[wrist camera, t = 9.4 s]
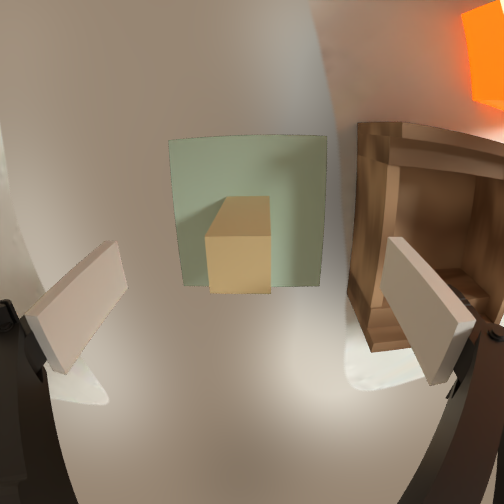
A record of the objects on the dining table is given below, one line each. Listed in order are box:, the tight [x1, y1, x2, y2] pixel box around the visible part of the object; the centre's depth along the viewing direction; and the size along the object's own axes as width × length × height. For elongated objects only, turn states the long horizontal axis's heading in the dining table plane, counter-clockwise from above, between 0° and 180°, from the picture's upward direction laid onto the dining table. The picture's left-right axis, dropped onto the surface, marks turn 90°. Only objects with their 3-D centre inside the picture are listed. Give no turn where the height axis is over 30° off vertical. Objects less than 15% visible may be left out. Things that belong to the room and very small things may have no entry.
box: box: [347, 122, 504, 353], centre depth 18 cm, size 14×12×8 cm
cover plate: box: [168, 135, 327, 294], centre depth 18 cm, size 12×11×9 cm
